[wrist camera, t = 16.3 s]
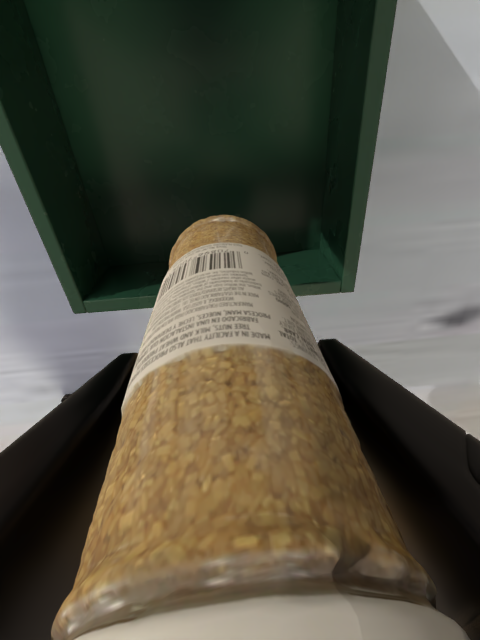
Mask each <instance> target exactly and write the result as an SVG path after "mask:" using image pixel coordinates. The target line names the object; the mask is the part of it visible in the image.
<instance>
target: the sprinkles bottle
mask: <svg viewBox="0 0 480 640" xmlns="http://www.w3.org/2000/svg"><path fill="white" fill-rule="evenodd" d="M121 410H122V420H121V424H120V427H119V431H118V435H117V440H116V445H115V448H114V450H113V452H112V455H111V458H110V461H109V464H108V468H107V472H106V476H105V481H104V483H103V485H102V488H101V491H100V495H99V498H98V501H97V506H96V509H95V512H94V515H93V521H92V523H91V525H90V527H89V531H88V535H87V539H86V543H85V546H84V549H83V553H82V557H81V563H80V567H79V570H78V573H77V576H76V579H75V583H74V587H73V589H72V591H71V592H70V594H69V595H68V596H67V598H66V599H65V600H64V602H63V604H62V606H61V607H60V609H59V611H58V613H57V615H56V617H55V620H54V622H53V625H52V630H51V640H470V639H469V637H468V635H467V634H466V632H465V631H464V630H463V629H462V628H461V627H460V626H459V625H458V624H457V623H456V622H455V621H454V620H452V619H451V618H449V617H447V616H446V615H444V614H442V613H441V612H439V611H438V610H437V609H436V600H435V596H436V594H437V591H436V587H435V585H434V583H433V581H432V580H431V578H430V577H429V575H428V574H427V572H426V571H425V569H424V568H423V567H422V566H421V565H420V564H419V563H418V562H417V561H416V560H415V559H414V558H413V557H412V555H411V554H410V553H409V552H408V551H407V549H406V546H405V543H404V540H403V538H402V535H401V533H400V530H399V528H398V526H397V525H396V523H395V521H394V519H393V516H392V514H391V512H390V509H389V507H388V505H387V503H386V502H385V500H384V498H383V496H382V494H381V492H380V489H379V487H378V485H377V481H376V478H375V476H374V474H373V472H372V470H371V468H370V466H369V465H368V462H367V460H366V458H365V456H364V455H363V453H362V451H361V447H360V442H359V440H358V438H357V436H356V434H355V432H354V430H353V428H352V426H351V422H350V420H349V418H348V416H347V414H346V412H345V410H344V405H343V401H342V397H341V394H340V392H339V389H338V387H337V384H336V382H335V380H334V378H333V376H332V374H331V372H330V370H329V368H328V366H327V364H326V362H325V360H324V357H323V355H322V353H321V351H320V349H319V347H318V345H317V343H316V340H315V338H314V336H313V334H312V331H311V329H310V327H309V325H308V323H307V321H306V319H305V317H304V314H303V312H302V310H301V308H300V306H299V303H298V301H297V299H296V297H295V295H294V293H293V291H292V289H291V286H290V284H289V282H288V280H287V278H286V276H285V274H284V272H283V271H282V269H281V268H280V267H279V265H278V262H277V256H276V252H275V249H274V247H273V244H272V243H271V241H270V239H269V238H268V236H267V235H266V233H265V232H264V231H262V230H261V229H260V228H259V227H258V226H256V225H255V224H253V223H252V222H250V221H248V220H246V219H243V218H240V217H236V216H232V215H219V216H210V217H208V218H206V219H201V220H198V221H197V222H195V223H193V224H192V225H191V226H190V227H188V228H187V229H186V230H185V231H184V232H183V233H182V234H181V235H180V236H179V238H178V240H177V242H176V244H175V245H174V246H173V248H172V250H171V254H170V259H169V270H168V272H167V274H166V276H165V278H164V279H163V282H162V284H161V288H160V291H159V294H158V296H157V299H156V302H155V305H154V308H153V311H152V314H151V317H150V320H149V323H148V326H147V329H146V332H145V335H144V338H143V341H142V344H141V347H140V350H139V353H138V356H137V360H136V363H135V366H134V369H133V372H132V375H131V378H130V381H129V384H128V387H127V391H126V394H125V397H124V401H123V404H122V407H121Z"/></svg>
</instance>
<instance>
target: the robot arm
mask: <svg viewBox="0 0 480 640" xmlns="http://www.w3.org/2000/svg"><path fill="white" fill-rule="evenodd" d="M318 347H319V349H320V351H321V353H322V355H323V357H324V360H325V362H326V364H327V366H328V368H329V370H330V372H331V374H332V376H333V378H334V380H335V382H336V384H337V387H338V389H339V392H340V394H341V397H342V401H343V405H344V410H345V412H346V414H347V416H348V418H349V420H350V422H351V426H352V428H353V430H354V432H355V434H356V436H357V438H358V440H359V442H360V447H361V451H362V453H363V455H364V456H365V458H366V460H367V462H368V465H369V466H370V468H371V470H372V472H373V474H374V476H375V478H376V481H377V485H378V487H379V489H380V492H381V494H382V496H383V498H384V500H385V502H386V503H387V505H388V507H389V509H390V512H391V514H392V516H393V519H394V521H395V523H396V525H397V526H398V528H399V530H400V533H401V535H402V538H403V540H404V543H405V546H406V549H407V551H408V552H409V553H410V554H411V555H412V557H413V558H414V559H415V560H416V561H417V562H418V563H419V564H420V565H421V566H422V567H423V568H424V569H425V571H426V572H427V574H428V575H429V577H430V578H431V580H432V581H433V583H434V585H435V587H436V591H437V594H436V596H435V600H436V609H437V610H438V611H439V612H441V613H442V614H444V615H446V616H447V617H449V618H451V619H452V620H454V621H455V622H456V623H457V624H458V625H459V626H460V627H461V628H462V629H463V630H464V631H465V632H466V634H467V635H468V637H469V639H470V640H480V441H479V440H477V439H476V438H475V437H473V436H472V435H470V434H466V432H465V431H464V430H463V429H462V428H460V427H459V426H457V425H456V424H455V423H453V422H452V421H450V420H449V419H448V418H446V417H445V416H443V415H442V414H441V413H439V412H438V411H436V410H435V409H434V408H432V407H431V406H429V405H428V404H426V403H425V402H424V401H422V400H421V399H419V398H418V397H417V396H415V395H414V394H412V393H411V392H410V391H408V390H407V389H405V388H404V387H403V386H401V385H400V384H398V383H397V382H395V381H394V380H393V379H391V378H390V377H388V376H387V375H386V374H384V373H383V372H381V371H380V370H379V369H377V368H376V367H374V366H373V365H372V364H370V363H369V362H367V361H366V360H365V359H363V358H362V357H360V356H359V355H357V354H356V353H355V352H353V351H352V350H350V349H349V348H348V347H346V346H345V345H343V344H342V343H341V342H339V341H338V340H336V339H325V340H320V341H319V342H318ZM137 356H138V353H124V354H121V355H119V356H118V357H117V358H116V359H114V360H113V361H112V362H111V363H109V364H108V365H107V366H106V367H105V368H103V369H102V370H101V371H100V372H98V373H97V374H96V375H95V376H94V377H92V378H91V379H90V380H89V381H87V382H86V383H85V384H84V385H83V386H81V387H80V388H79V389H78V390H76V391H75V392H74V393H73V394H67V395H65V396H64V397H63V398H62V400H61V402H62V403H61V404H59V405H58V406H57V407H56V408H55V409H53V410H52V411H51V412H50V413H48V414H47V415H46V416H45V417H44V418H42V419H41V420H40V421H39V422H37V423H36V424H35V425H34V426H33V427H31V428H30V429H29V430H28V431H26V432H25V433H24V434H23V435H22V436H20V437H19V438H18V439H17V440H15V441H14V442H13V443H12V444H11V445H9V446H8V447H7V448H6V449H4V450H3V451H2V452H1V453H0V640H51V630H52V625H53V622H54V620H55V617H56V615H57V613H58V611H59V609H60V607H61V606H62V604H63V602H64V600H65V599H66V598H67V596H68V595H69V594H70V592H71V591H72V589H73V587H74V583H75V579H76V576H77V573H78V570H79V567H80V563H81V557H82V553H83V549H84V546H85V543H86V539H87V535H88V531H89V527H90V525H91V523H92V521H93V515H94V512H95V509H96V506H97V501H98V498H99V495H100V491H101V488H102V485H103V483H104V481H105V476H106V472H107V468H108V464H109V461H110V458H111V455H112V452H113V450H114V448H115V445H116V440H117V435H118V431H119V427H120V424H121V420H122V410H121V407H122V404H123V401H124V397H125V394H126V391H127V387H128V384H129V381H130V378H131V375H132V372H133V369H134V366H135V363H136V360H137Z"/></svg>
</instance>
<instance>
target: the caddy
mask: <svg viewBox="0 0 480 640" xmlns="http://www.w3.org/2000/svg"><path fill="white" fill-rule="evenodd" d="M396 5H397V0H0V145H1V148H2V150H3V152H4V154H5V157H6V159H7V161H8V164H9V166H10V168H11V170H12V173H13V175H14V177H15V180H16V182H17V184H18V186H19V189H20V191H21V193H22V196H23V198H24V200H25V202H26V205H27V207H28V209H29V212H30V214H31V216H32V219H33V221H34V223H35V225H36V228H37V230H38V232H39V235H40V237H41V239H42V241H43V244H44V246H45V248H46V251H47V253H48V255H49V257H50V260H51V262H52V264H53V267H54V269H55V271H56V274H57V276H58V278H59V280H60V283H61V285H62V287H63V290H64V292H65V294H66V296H67V299H68V301H69V303H70V306H71V308H72V310H73V312H74V314H78V313H86V312H88V313H92V312H105V311H117V310H130V309H143V308H154V305H155V302H156V299H157V296H158V294H159V291H160V288H161V284H162V282H163V279H164V278H165V276H166V274H167V272H168V270H169V259H170V254H171V250H172V248H173V246H174V245H175V244H176V242H177V240H178V238H179V236H180V235H181V234H182V233H183V232H184V231H185V230H186V229H187V228H188V227H190V226H191V225H192V224H193V223H195V222H197V221H198V220H201V219H206V218H208V217H210V216H219V215H232V216H236V217H240V218H243V219H246V220H248V221H250V222H252V223H253V224H255V225H256V226H258V227H259V228H260V229H261V230H262V231H264V232H265V233H266V235H267V236H268V238H269V239H270V241H271V243H272V244H273V247H274V249H275V252H276V256H277V262H278V265H279V267H280V268H281V269H282V271H283V272H284V274H285V276H286V278H287V280H288V282H289V284H290V286H291V289H292V291H293V293H294V295H295V296H306V295H319V294H332V293H340V292H341V293H345V292H354V287H355V280H356V273H357V266H358V260H359V253H360V246H361V240H362V233H363V226H364V219H365V213H366V206H367V199H368V193H369V186H370V179H371V172H372V166H373V159H374V152H375V146H376V139H377V132H378V125H379V119H380V112H381V105H382V99H383V92H384V85H385V78H386V72H387V65H388V58H389V52H390V45H391V38H392V31H393V25H394V18H395V11H396Z"/></svg>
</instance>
